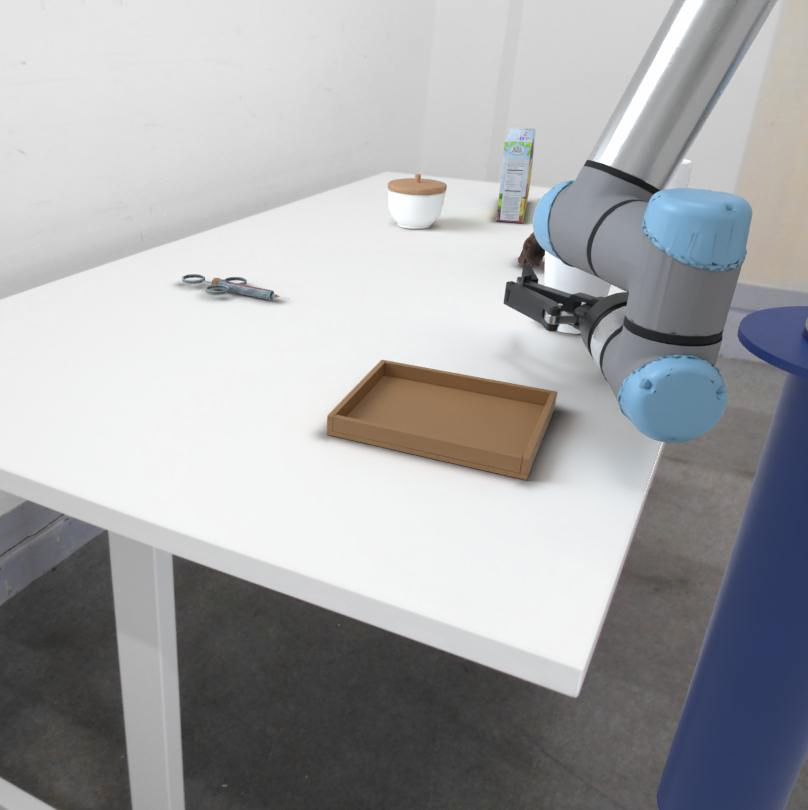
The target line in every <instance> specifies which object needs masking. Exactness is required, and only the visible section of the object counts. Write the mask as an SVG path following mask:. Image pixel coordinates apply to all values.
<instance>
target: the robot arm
mask: <svg viewBox="0 0 808 810" xmlns="http://www.w3.org/2000/svg"><path fill="white" fill-rule="evenodd" d="M778 1H779V0H673V2H672V3H671V5H670V6H669V9H668V11H667V13H666V14H665V16H664V18H663V19H662V22H661V23H660V25H659V27H658V28H657V31H656V33H655V35H654V36H653V38H652V39H651V41H650V43H649V46H648V47H647V49H646V50H645V52H644V54H643V56H642V58H641V59H640V62H639V64H638V66H637V67H636V69H635V70H634V73H633V74H632V76H631V78H630V79H629V82H628V83H627V85H626V87H625V89H624V90H623V92H622V94H621V97H620V98H619V100H618V101H617V103H616V105H615V107H614V108H613V110H612V113H611V114H610V116H609V118H608V120H607V122H606V124H605V125H604V127H603V129H602V131H601V132H600V135H599V136H598V139H597V140H596V142H595V143H594V145H593V147H592V149H591V151H590V153H589V155H588V156H587V158H586V159H585V163H584V165H583V166H582V167H581V169H580V170H579V173H578V174H577V175H576V178H575V180H574V179H573V180H565V181H562V182H559V183H557V184H555V185H554V186H553V187H552V188H551V189H549V190H548V191H547V192H546V193H544V194H543V196H542V197H541V198H540V200H539V201H538V203H537V205H536V208H535V210H534V213H533V218H532V219H533V220H532V229H533V230H532V232H533V231H534V235H535V238H536V240H537V241H538V243H539V245H540V246H541V247H542V248H543V249H544V250H545V251H547V252H548V253H549V254H551V255H553V256H554V257H556V258H558V259H560V260H561V262H562V263H564V264H565V265H567V266H570V267H576V268H578V269H580V270H582V271H585V272H587V273H589V274H591V275H594V276H596V277H598V278H600V279H602V280H604V281H605V282H607V283H609V284H611V286H613V287H615V288H617V289H619V290H622V291H623V292H622V291H621V292H616V293H612V294H608V296H607V297H594V296H591V295H587V294H584V293H581V292H580V293H575V294H569V293H566V292H563V291H560V290H557V289H554V288H551V287H548V286H544V284H541V283H539V277H538V276H537V274H536V272H535V270H534V269H533V266H531V265H530V264H528V263H526V264H523V267H522V271H521V276H517V277H516V281H513V280H510V281H506V282H505V289H504V296H503V305H505V306H506V307H508V308H511V309H512V310H514V311H516V312H518V313H520V314H522V315H524V316H525V317H528V318H529V319H531V320H533V321H535V322H537V323H539V324H540V325H542V327H543V328H544V329H545V330H546V331H548V332H558V331H557V330H558V327H559V326H560V324H568V325H570V326H573V327H574V328H575V329H577V330H579V331H580V332H581V334H580V335H581V339H582V342H583V344H584V347H585V348H586V350H587V352H588V353H589V355H590V357H591V358H592V360H593V362H594V363H595V364H596V366H597V368H598V369H599V371H600V373H601V375H602V376H603V378H604V380H605V382H606V383H607V384H608V386H609V387H610V389H611V392H612V393H613V395H614V396H615V399H616V401H617V402H618V403H617V405H618V406H619V409H620V412H621V413H622V415H624V417H627V420H629V421H630V422H631V423H632V424H633V426H634V428H636V430H638V432H640V433H641V434H643V435H644V436H646V437H648V438H649V439H651V440H653V441H656V442H662V443H666V444H674V443H675V444H676V443H679V444H680V443H685V442H688V441H692V440H695V439H697V438H700V437H701V436H703V435H705V434H707V433H708V432H709V431H711V430H712V429H713V428H714V427H715V426H716V425H717V424H718V423H719V422H720V420H721V419H722V417H723V416H724V414H725V412H726V409H727V406H728V399H729V397H728V396H729V395H728V390H727V386H726V383H725V382H724V379H723V376H722V374H721V373H720V369H719V368H718V367H717V366H716V365H717V361H718V357H719V354H720V351H721V346H722V343H723V342H722V341H723V335H724V330H725V326H726V322H727V319H728V316H729V313H730V309H731V305H732V303H733V302H732V301H733V298H734V295H735V292H736V288H737V284H738V281H739V277H740V273H741V270H742V267H743V264H744V262H745V260H746V257H747V255H748V252H747V251H748V249H747V244H748V240H749V234H750V229H751V224H752V219H753V208H752V205H751V204H750V203H749V202H748V200H747V199H745V198H743V196H740V195H737V194H733V193H730V192H724V191H716V190H715V191H714V190H711V189H705V188H692V187H691V188H690V187H687V188H673V189H666V188H667V186H668V185H669V183H670V181H671V180H672V178H673V176H674V174H675V173H676V171H677V169H678V168H679V166H680V164H681V163H682V161H683V159H686V156H687V155H688V152H689V151H690V150H691V147H692V146H693V144H694V143H695V141H696V139H697V138H698V136H699V134H700V133H701V131H702V129H703V127H704V126H705V124H706V122H707V121H708V119H709V117H710V116H711V114H712V112H713V110H714V109H715V107H716V105H717V104H718V102H719V100H720V99H721V97H722V95H723V93H724V92H725V90H726V89H727V86H728V85H729V83H730V82H731V81H732V78H733V77H734V75H735V73H736V72H737V70H738V68H739V67H740V65H741V63H742V62H743V60H744V59H745V56H747V53H748V51H749V50H750V48H751V47H752V45H753V43H754V42H755V40H756V38H757V36H758V35H759V33H760V31H761V30H762V28H763V26H764V24H765V23H766V21H767V20H768V18H769V16H770V14H771V13H772V11H773V9H774V7H775V6H776V5H777V3H778ZM582 302H584V303H585V304H583V305H581V304H582ZM803 336H804V338H805V339H806V340H807V341H808V317H807V320H806V323H805V327H804V330H803Z"/></svg>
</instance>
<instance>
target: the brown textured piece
mask: <svg viewBox="0 0 808 810" xmlns="http://www.w3.org/2000/svg"><path fill="white" fill-rule="evenodd" d="M544 258H545V250H544V249H543V248H542V247H541V246H540V245H539V243H538V241H537V240H536V238H535V235H534V231H533V230H532V232H531V233H530V235H529V236H528V237H527V238H526V239H525V240H524V242H523V245H522V250H521V252H520V254H519V256H518V258H517V262H518V264H519V265H520V266H521V267H522V268H523V264H530V265H531V267H540V265H541V262H542V261H543V259H544Z"/></svg>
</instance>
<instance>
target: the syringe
mask: <svg viewBox="0 0 808 810" xmlns="http://www.w3.org/2000/svg"><path fill="white" fill-rule="evenodd" d="M194 278H196V280H195V279H194ZM181 281H182V282H183V283H184V284H188V285H197V284H202V283H209V284H210V285H207V286H206V287H205V288H204V289H205V290H204V292H205V293H206V294H207V295H210V296H211V295H212V296H222V295H226V294H228V293H230V292H231V293H235V294H240V295H246V296H250V297H254V298H260V299H263V300H268V301H272V300H273V299H276V298H282V299H285V297H283V296H280V295H278V294H277V293H275V291H274V290H272V289H268V288H263V287H259V286H258V287H257V286H253V285H249V284H248V280H247V279H246V278H245V277H241V276H230V277H226V278H224V279H223V278H220V277H214V278H213V279H212V280H211V281H209V280H208V281H207V280H206V276H204V275H203V274H198V273H190V274H185V275H183V276H182V277H181ZM235 281H238V282H235ZM286 299H288V300H289V298H288V297H286Z"/></svg>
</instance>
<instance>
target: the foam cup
mask: <svg viewBox="0 0 808 810" xmlns="http://www.w3.org/2000/svg"><path fill="white" fill-rule="evenodd" d="M543 283H544V284H543V285H544V286H548V287H551V288H554V289H557V290H560V291H563V292H566V293H569V294H575V293H580V292H581V293H584V294H587V295H591V296H594V297H607V296H609V293H610V290H611V288H612V287H611V286H612V285H611V284H609V283H607V282H605V281H604V280H602V279H600V278H598V277H596V276H594V275H591V274H589V273H587V272H585V271H582V270H580V269H578V268H576V267H570V266H567V265H565V264H564V263H562V262H561V260H560V259H558V258H556V257H554V256H553V255H551V254H549V253H548V252H547V251H545V256H544V282H543ZM583 304H585V303H584V302H582V304H581V305H583ZM556 332H560V333H563V334H572V335H581V332H580V331H579V330H577V329H575V328H574V327H573V326H570V325H568V324H560V326H559V327H558V330H557V331H556Z"/></svg>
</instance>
